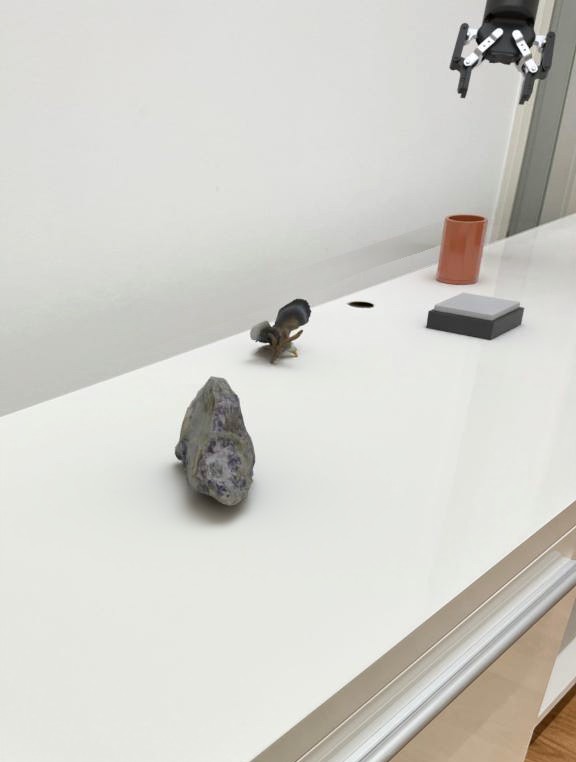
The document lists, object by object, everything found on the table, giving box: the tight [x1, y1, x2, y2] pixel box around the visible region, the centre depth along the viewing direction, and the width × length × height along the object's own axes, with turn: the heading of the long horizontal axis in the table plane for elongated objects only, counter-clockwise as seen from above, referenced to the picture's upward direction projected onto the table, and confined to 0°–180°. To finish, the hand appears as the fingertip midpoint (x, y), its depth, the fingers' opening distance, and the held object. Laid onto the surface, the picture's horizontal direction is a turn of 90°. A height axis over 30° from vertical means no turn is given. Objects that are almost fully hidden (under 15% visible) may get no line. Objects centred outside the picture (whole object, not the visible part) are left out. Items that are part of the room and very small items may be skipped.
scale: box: [425, 292, 525, 340], centre depth 138 cm, size 9×9×3 cm
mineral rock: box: [174, 375, 256, 506], centre depth 94 cm, size 13×11×10 cm
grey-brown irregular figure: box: [249, 298, 312, 364], centre depth 129 cm, size 8×7×9 cm
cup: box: [436, 213, 489, 285], centre depth 158 cm, size 6×6×9 cm
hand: (493, 98), depth 153 cm, fingers open, 8 cm apart
